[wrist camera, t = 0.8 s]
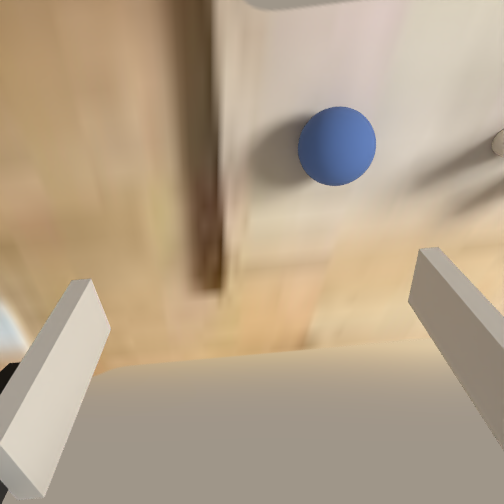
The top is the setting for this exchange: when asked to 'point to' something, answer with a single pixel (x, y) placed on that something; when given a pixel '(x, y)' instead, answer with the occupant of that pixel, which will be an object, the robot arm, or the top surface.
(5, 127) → the top surface
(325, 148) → the ball
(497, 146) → the pin
